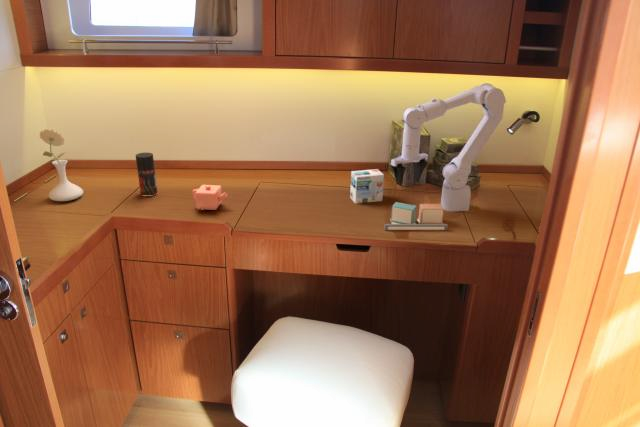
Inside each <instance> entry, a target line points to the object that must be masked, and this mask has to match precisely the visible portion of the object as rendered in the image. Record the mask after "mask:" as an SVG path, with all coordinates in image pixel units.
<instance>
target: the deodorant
mask: <svg viewBox="0 0 640 427" xmlns="http://www.w3.org/2000/svg"><path fill="white" fill-rule="evenodd" d="M135 162H136V167H137V169H136V170H137V176H138V184H139V190H140V196H141V195H154V194H156V193H157V192H158V185H157V177H156V169H155V160H154V154H153V153H152V152H140V153H139V152H138V153H136V154H135Z"/></svg>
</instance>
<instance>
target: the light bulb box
mask: <svg viewBox="0 0 640 427" xmlns="http://www.w3.org/2000/svg"><path fill="white" fill-rule="evenodd" d="M384 181H385V174H384V173H383V172H381V171H380V170H379V169H378V168H375V169H363V170H351V172H350V189H349V190H350V194H349V198H350V199H351V201H353V203H354V204H355V205H357V204H365V203H372V202H373V203H375V202H383V196H384V194H383V193H384V183H385V182H384Z"/></svg>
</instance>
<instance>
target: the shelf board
mask: <svg viewBox="0 0 640 427" xmlns="http://www.w3.org/2000/svg"><path fill="white" fill-rule="evenodd" d="M389 220H390V222H391V218H389ZM416 220H417V222H418V223H416V221H415V222H414V223H413V224H400V223H395V222H391V223H385V224H384V226H383V228H384V229H383V230H384V231H448V227H449V225H448V224H447V223H444V221H442V224H421V223H420V221H419V219H418V218H416Z"/></svg>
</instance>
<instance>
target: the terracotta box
mask: <svg viewBox="0 0 640 427" xmlns="http://www.w3.org/2000/svg"><path fill="white" fill-rule="evenodd" d="M418 211H419V212H418V218H417V219H419V221H420V223H421V224H442V222H444V221H443V220H444V214H445V213H444V211H445V210H444V208H443V206H442V205H441V203H420V204H419V210H418Z"/></svg>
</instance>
